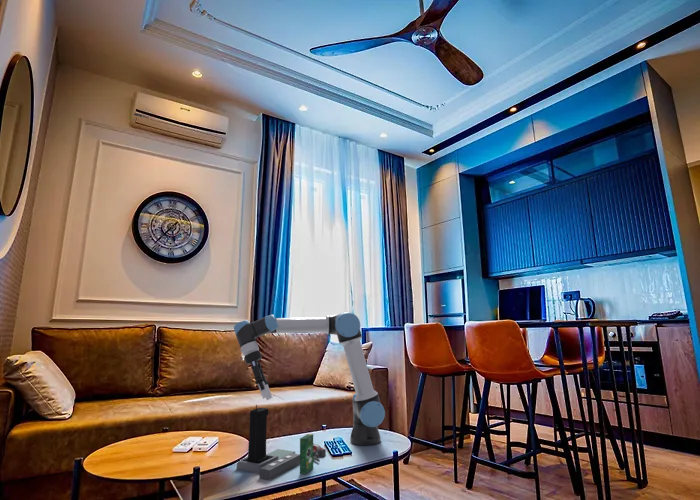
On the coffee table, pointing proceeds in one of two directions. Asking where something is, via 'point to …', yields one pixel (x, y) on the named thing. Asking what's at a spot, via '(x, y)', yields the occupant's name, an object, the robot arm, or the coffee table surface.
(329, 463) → the coffee table surface
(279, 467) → the charging dock
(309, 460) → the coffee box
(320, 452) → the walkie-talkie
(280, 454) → the rubber mat
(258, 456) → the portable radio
